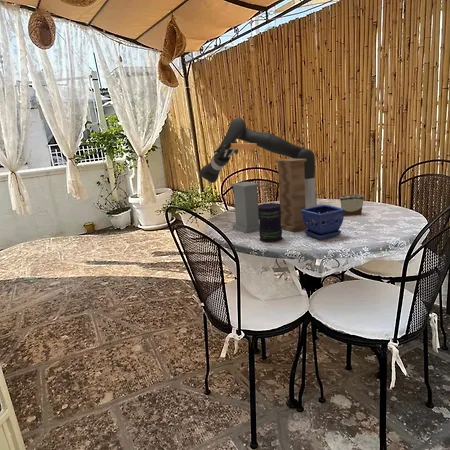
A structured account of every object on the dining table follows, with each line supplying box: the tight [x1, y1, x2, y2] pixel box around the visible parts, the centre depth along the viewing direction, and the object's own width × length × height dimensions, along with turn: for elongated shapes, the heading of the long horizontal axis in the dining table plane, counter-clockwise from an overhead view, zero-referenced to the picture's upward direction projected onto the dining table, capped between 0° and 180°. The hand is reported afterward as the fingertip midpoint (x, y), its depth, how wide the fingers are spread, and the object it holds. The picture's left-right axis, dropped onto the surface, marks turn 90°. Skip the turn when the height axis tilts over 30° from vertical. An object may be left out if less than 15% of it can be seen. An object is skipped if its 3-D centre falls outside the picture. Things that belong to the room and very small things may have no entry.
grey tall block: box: [230, 181, 260, 234], centre depth 173 cm, size 12×10×22 cm
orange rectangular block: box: [229, 142, 258, 151], centre depth 166 cm, size 22×3×2 cm, turn 29°
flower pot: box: [301, 204, 345, 241], centre depth 153 cm, size 13×13×12 cm
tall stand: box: [275, 157, 308, 233], centre depth 166 cm, size 12×10×32 cm
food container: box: [338, 193, 365, 217], centre depth 183 cm, size 12×6×10 cm, turn 84°
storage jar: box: [258, 202, 283, 243], centre depth 154 cm, size 10×10×15 cm
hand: (233, 143), depth 172 cm, fingers closed on orange rectangular block, 3 cm apart
